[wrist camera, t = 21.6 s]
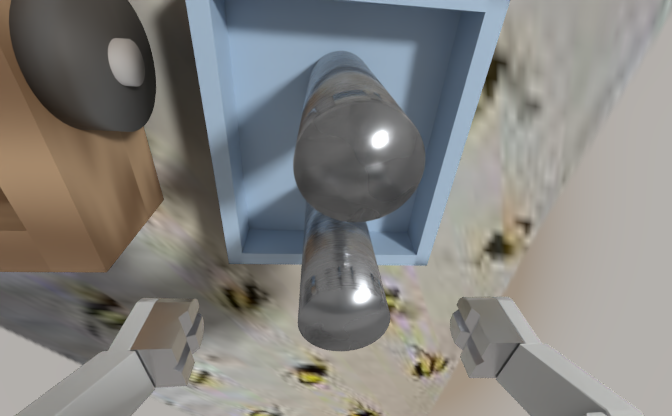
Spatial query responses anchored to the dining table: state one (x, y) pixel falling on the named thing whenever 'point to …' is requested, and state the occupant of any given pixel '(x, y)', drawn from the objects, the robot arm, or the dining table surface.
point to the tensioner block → (73, 134)
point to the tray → (289, 96)
